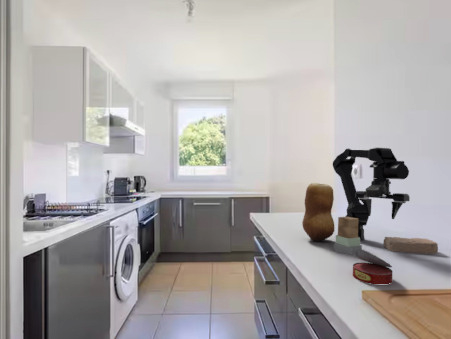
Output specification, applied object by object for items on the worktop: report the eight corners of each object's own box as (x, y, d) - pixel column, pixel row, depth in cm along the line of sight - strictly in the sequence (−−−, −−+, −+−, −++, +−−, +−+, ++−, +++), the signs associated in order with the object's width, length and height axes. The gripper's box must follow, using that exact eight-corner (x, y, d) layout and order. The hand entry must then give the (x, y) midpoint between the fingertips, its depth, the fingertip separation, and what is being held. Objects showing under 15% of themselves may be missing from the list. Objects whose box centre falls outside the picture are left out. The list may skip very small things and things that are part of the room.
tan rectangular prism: (337, 235, 107) (338, 217, 107) (346, 234, 110) (346, 216, 110) (349, 238, 103) (350, 219, 103) (357, 237, 105) (358, 218, 105)
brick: (389, 251, 108) (389, 239, 108) (382, 246, 116) (382, 235, 116) (438, 256, 104) (439, 243, 104) (428, 250, 112) (428, 238, 112)
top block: (335, 243, 108) (335, 235, 108) (347, 241, 110) (347, 234, 110) (348, 246, 102) (348, 238, 103) (360, 245, 105) (360, 237, 105)
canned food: (351, 290, 82) (343, 255, 86) (388, 288, 81) (378, 253, 85) (363, 285, 72) (353, 246, 77) (405, 283, 71) (392, 243, 76)
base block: (334, 251, 107) (334, 243, 107) (344, 249, 111) (344, 241, 111) (352, 256, 101) (352, 247, 101) (361, 253, 105) (361, 245, 106)
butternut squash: (338, 244, 116) (339, 184, 116) (306, 243, 116) (307, 183, 117) (327, 237, 130) (328, 183, 130) (298, 236, 130) (299, 182, 130)
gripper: (348, 177, 116) (348, 215, 116) (397, 179, 101) (397, 222, 101) (362, 178, 123) (361, 214, 123) (410, 179, 108) (409, 220, 108)
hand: (380, 217), depth 113 cm, fingers open, 9 cm apart
